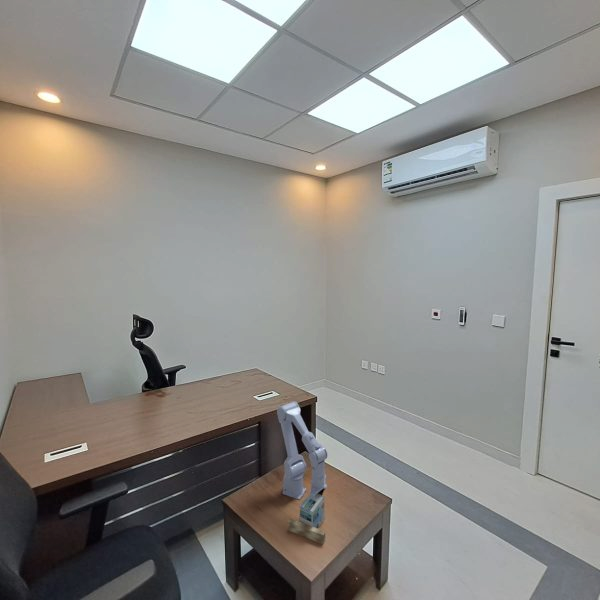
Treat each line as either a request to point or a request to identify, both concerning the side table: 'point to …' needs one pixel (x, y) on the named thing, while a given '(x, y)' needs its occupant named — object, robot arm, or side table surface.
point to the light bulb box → (312, 511)
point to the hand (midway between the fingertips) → (318, 502)
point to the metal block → (306, 531)
